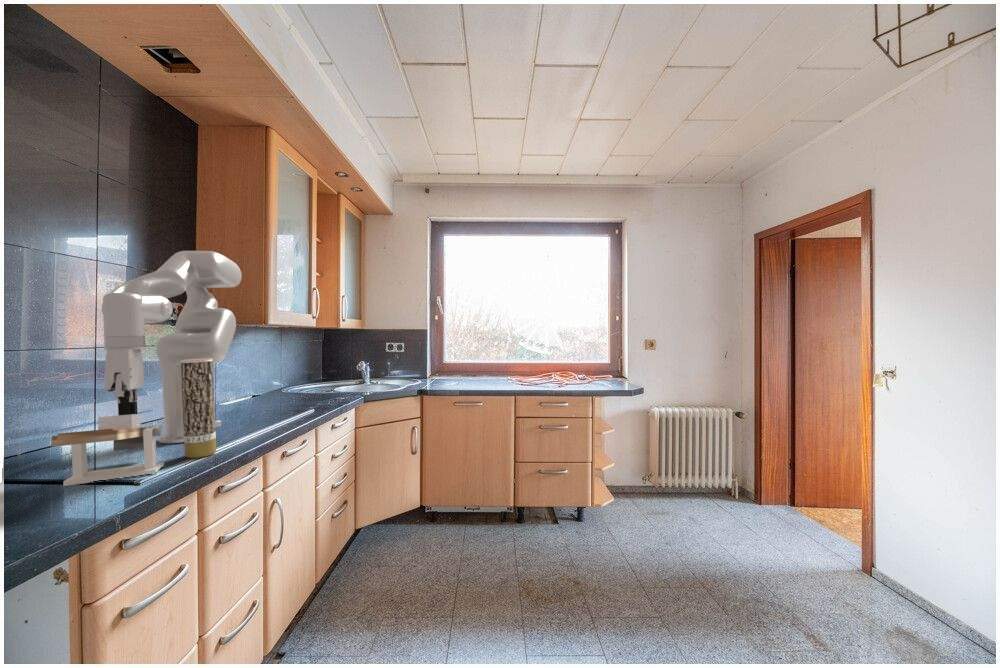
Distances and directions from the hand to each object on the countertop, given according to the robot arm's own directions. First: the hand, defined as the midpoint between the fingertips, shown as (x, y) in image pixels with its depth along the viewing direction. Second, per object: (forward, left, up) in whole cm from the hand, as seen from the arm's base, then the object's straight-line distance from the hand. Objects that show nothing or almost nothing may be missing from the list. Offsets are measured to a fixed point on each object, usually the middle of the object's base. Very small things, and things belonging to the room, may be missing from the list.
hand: (128, 418), depth 106 cm
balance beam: (+4, +8, -6) cm, 11 cm away
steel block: (+3, +5, -2) cm, 6 cm away
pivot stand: (+4, +7, -11) cm, 14 cm away
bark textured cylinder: (-13, +6, -12) cm, 18 cm away
